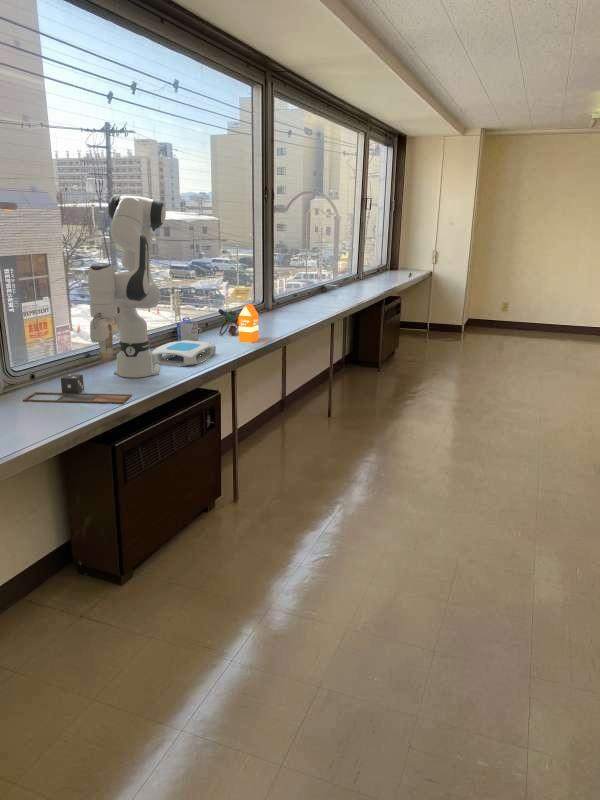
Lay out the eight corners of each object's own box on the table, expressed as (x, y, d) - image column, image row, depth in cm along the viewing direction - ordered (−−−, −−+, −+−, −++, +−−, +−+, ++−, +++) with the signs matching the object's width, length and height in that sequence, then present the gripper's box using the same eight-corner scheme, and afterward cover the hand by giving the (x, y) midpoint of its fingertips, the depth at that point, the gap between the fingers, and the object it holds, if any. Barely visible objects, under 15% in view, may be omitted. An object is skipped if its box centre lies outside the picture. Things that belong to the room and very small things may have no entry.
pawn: (102, 358, 214) (100, 320, 210) (116, 358, 214) (113, 321, 210) (98, 361, 210) (95, 323, 206) (111, 361, 210) (109, 323, 206)
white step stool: (149, 364, 270) (148, 350, 268) (177, 351, 296) (176, 339, 294) (191, 367, 265) (191, 354, 263) (216, 354, 291) (216, 342, 289)
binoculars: (231, 343, 334) (245, 320, 332) (210, 330, 329) (223, 307, 327) (228, 338, 347) (241, 315, 345) (208, 326, 342) (221, 303, 340)
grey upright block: (194, 343, 314) (193, 316, 310) (199, 345, 310) (198, 317, 305) (177, 345, 308) (176, 317, 304) (181, 347, 304) (180, 319, 300)
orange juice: (238, 342, 320) (238, 304, 314) (245, 339, 328) (245, 302, 322) (251, 343, 318) (251, 305, 312) (258, 340, 326) (258, 303, 320)
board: (35, 393, 222) (35, 392, 221) (131, 395, 221) (131, 394, 221) (22, 401, 212) (22, 400, 212) (123, 403, 212) (123, 402, 211)
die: (68, 389, 228) (67, 373, 226) (84, 389, 228) (82, 374, 226) (62, 393, 222) (60, 378, 221) (78, 394, 222) (76, 378, 220)
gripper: (102, 315, 197) (105, 356, 201) (121, 307, 217) (124, 344, 221) (83, 315, 197) (87, 356, 201) (104, 307, 217) (107, 344, 221)
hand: (106, 350), depth 211 cm, fingers closed on pawn, 4 cm apart
